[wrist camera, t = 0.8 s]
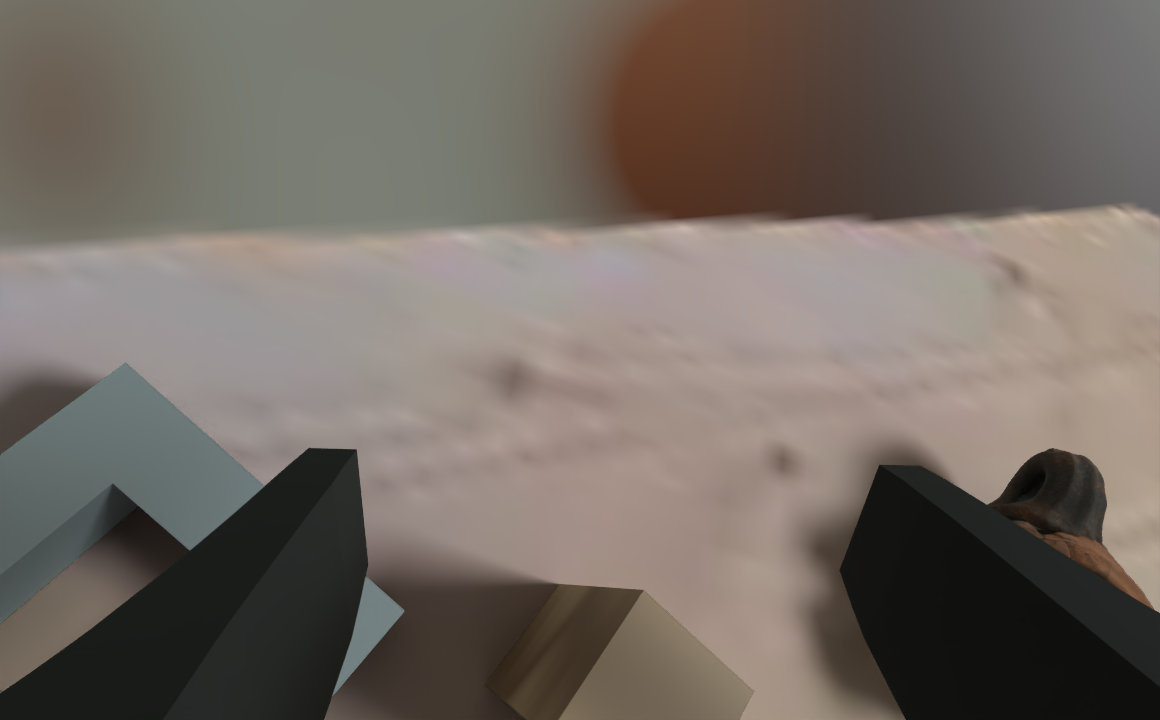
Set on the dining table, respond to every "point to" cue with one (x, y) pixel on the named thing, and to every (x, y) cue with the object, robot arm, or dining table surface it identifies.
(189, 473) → the socket block
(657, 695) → the square peg
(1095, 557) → the pottery mug
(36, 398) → the dining table surface
